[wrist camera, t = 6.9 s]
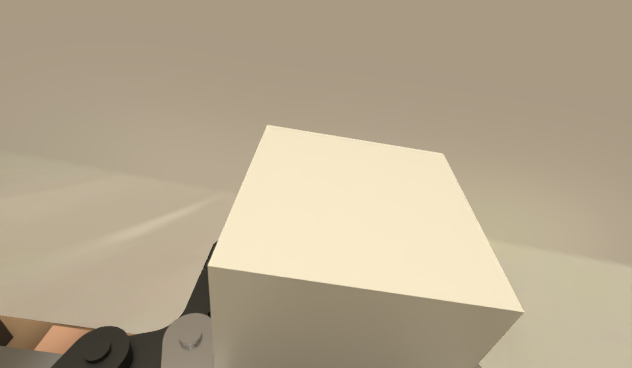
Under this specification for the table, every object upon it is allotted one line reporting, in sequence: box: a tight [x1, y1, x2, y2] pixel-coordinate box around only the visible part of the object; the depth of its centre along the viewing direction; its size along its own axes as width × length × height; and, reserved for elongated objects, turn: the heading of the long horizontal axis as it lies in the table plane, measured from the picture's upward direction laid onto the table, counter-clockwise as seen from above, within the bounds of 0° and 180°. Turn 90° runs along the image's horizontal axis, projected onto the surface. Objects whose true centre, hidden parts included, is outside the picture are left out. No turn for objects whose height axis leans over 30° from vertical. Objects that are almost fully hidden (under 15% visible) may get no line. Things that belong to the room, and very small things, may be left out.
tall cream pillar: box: [208, 125, 524, 368], centre depth 11 cm, size 5×5×12 cm
